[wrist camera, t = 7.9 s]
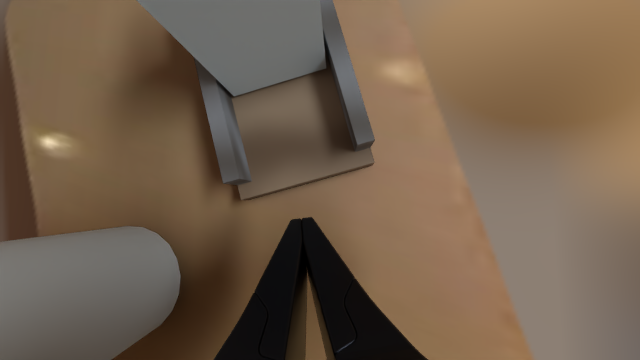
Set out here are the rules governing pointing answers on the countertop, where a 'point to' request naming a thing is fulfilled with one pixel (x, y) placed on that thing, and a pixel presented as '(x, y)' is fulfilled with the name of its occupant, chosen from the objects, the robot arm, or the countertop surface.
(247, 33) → the grey rectangular box
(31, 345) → the can
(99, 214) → the countertop surface
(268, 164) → the grey rail holder
